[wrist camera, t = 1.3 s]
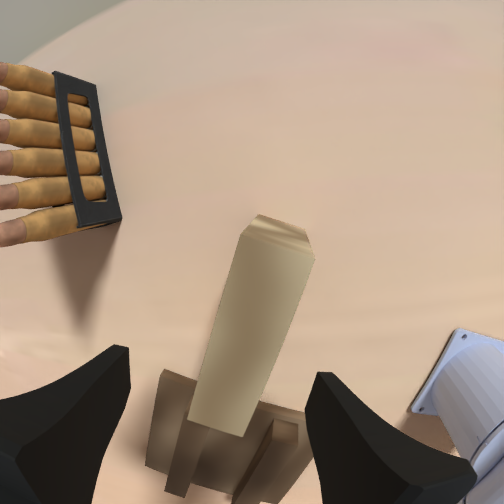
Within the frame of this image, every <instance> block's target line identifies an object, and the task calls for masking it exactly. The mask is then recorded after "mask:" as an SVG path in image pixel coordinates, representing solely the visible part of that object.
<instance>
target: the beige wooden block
mask: <svg viewBox="0 0 504 504" xmlns="http://www.w3.org/2000/svg"><path fill="white" fill-rule="evenodd" d="M314 261H315V256H314V254H313V251H312V248H311V245H310V242H309V240H308V237H307V234H306V231H305V229H303V228H300V227H297V226H294V225H291V224H288V223H284V222H281V221H278V220H275V219H272V218H269V217H266V216H263V215H260V214H259V215H258V216H257V217H256V218H255V219H254V220H253V221H252V222H251V223H250V225H249V226H248V227H247V228H246V229H245V230H244V231H243V232H242V233H241V235H240V238H239V241H238V245H237V248H236V251H235V255H234V258H233V261H232V265H231V268H230V271H229V275H228V278H227V281H226V285H225V288H224V292H223V295H222V298H221V302H220V305H219V309H218V312H217V315H216V319H215V322H214V326H213V329H212V333H211V336H210V340H209V343H208V347H207V350H206V354H205V357H204V361H203V364H202V368H201V371H200V375H199V378H198V382H197V385H196V389H195V392H194V396H193V400H192V403H191V407H190V410H189V414H188V417H187V420H190V421H193V422H196V423H199V424H202V425H205V426H208V427H211V428H214V429H217V430H220V431H223V432H227V433H230V434H233V435H237V436H240V437H243V435H244V433H245V431H246V428H247V426H248V424H249V422H250V420H251V417H252V415H253V413H254V411H255V408H256V406H257V404H258V402H259V399H260V397H261V395H262V392H263V390H264V388H265V385H266V383H267V381H268V378H269V376H270V374H271V371H272V369H273V366H274V364H275V362H276V359H277V357H278V354H279V352H280V349H281V347H282V345H283V342H284V340H285V337H286V335H287V332H288V330H289V327H290V324H291V322H292V319H293V317H294V314H295V312H296V309H297V306H298V304H299V301H300V299H301V296H302V293H303V291H304V288H305V285H306V283H307V280H308V277H309V274H310V272H311V269H312V266H313V263H314Z"/></svg>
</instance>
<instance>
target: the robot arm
mask: <svg viewBox="0 0 504 504" xmlns="http://www.w3.org/2000/svg"><path fill="white" fill-rule="evenodd" d="M464 334H465V335H464ZM463 335H464V337H463V338H462V336H463ZM130 389H131V382H130V365H129V347H124V346H119V345H115V344H114V345H112V346H111V347H109V348H108V349H106V350H105V351H103V352H102V353H100V354H99V355H98V356H96V357H95V358H93V359H92V360H90V361H89V362H87V363H86V364H84V365H83V366H81V367H80V368H78V369H76V370H74V371H73V372H71V373H69V374H68V375H66V376H64V377H62V378H61V379H59V380H57V381H55V382H53V383H50V384H48V385H46V386H44V387H41V388H39V389H36V390H33V391H30V392H27V393H24V394H21V395H18V396H14V397H10V398H6V399H1V400H0V504H91V503H92V498H93V494H94V490H95V485H96V481H97V477H98V474H99V470H100V467H101V463H102V460H103V457H104V454H105V452H106V449H107V447H108V445H109V442H110V440H111V438H112V436H113V433H114V431H115V429H116V427H117V425H118V422H119V420H120V418H121V416H122V414H123V411H124V409H125V406H126V403H127V400H128V396H129V393H130ZM421 407H422V408H421ZM420 408H421V409H420ZM411 410H412V412H413V413H419V414H426V415H434V416H439V417H440V419H441V420H442V422H443V424H444V426H445V428H446V430H447V432H448V434H449V436H450V437H451V439H452V441H453V443H454V445H455V447H456V449H457V451H458V453H459V455H460V457H461V458H460V457H457V456H453V455H450V454H446V453H444V452H441V451H438V450H436V449H433V448H431V447H429V446H426V445H424V444H422V443H420V442H418V441H416V440H414V439H413V438H411V437H409V436H407V435H405V434H404V433H402V432H400V431H399V430H397V429H396V428H394V427H393V426H392V425H390V424H389V423H387V422H386V421H385V420H383V419H382V418H381V417H379V416H378V415H377V414H376V413H375V412H373V411H372V410H371V409H370V408H369V407H368V406H367V405H365V404H364V403H363V402H362V401H361V400H360V399H359V398H358V397H357V396H356V395H355V394H354V393H353V392H352V391H351V390H350V389H349V388H348V387H347V386H346V385H345V384H344V383H343V382H342V381H341V380H340V379H339V378H338V377H337V376H336V375H335V374H333V373H332V372H317V375H316V378H315V381H314V384H313V387H312V390H311V392H310V395H309V398H308V401H307V404H306V407H305V419H306V427H307V433H308V437H309V441H310V445H311V449H312V452H313V456H314V460H315V464H316V467H317V471H318V475H319V480H320V485H321V493H322V501H323V504H504V341H501V340H498V339H494V338H491V337H488V336H484V335H481V334H478V333H475V332H471V331H468V330H465V329H461V328H458V329H456V330H455V331H454V333H453V335H452V337H451V339H450V341H449V343H448V344H447V346H446V348H445V350H444V352H443V354H442V356H441V358H440V359H439V361H438V363H437V365H436V366H435V368H434V370H433V372H432V373H431V375H430V377H429V378H428V380H427V382H426V383H425V385H424V387H423V388H422V390H421V392H420V393H419V395H418V396H417V398H416V399H415V401H414V402H413V404H412V406H411Z"/></svg>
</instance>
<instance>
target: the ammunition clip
mask: <svg viewBox="0 0 504 504" xmlns="http://www.w3.org/2000/svg"><path fill="white" fill-rule="evenodd" d="M52 74H53V75H52ZM52 74H49V73H46V72H43V71H40V70H38V69H35V68H32V67H28V66H25V65H13V64H9V63H3V62H0V85H1V86H4V87H7V88H8V89H10V90H2V89H0V113H2V114H7V115H9V116H11V117H13V118H16V120H11V119H4V120H3V119H0V143H3V144H10V145H13V146H16V147H20V148H23V149H19V150H7V151H0V175H6V176H19V177H23V178H32V179H28V180H25V181H23V182H18V183H12V184H7V185H0V210H6V209H18V208H24V209H37V208H43V207H50V206H52V207H53V208H49V209H43V210H38V211H34V212H32V213H30V214H28V215H26V216H23V217H19V218H16V219H14V220H10V221H6V222H3V223H0V247H6V246H12V245H16V244H21V243H26V242H31V241H45V240H48V239H52V238H55V237H59V236H62V235H66V234H70V233H73V232H77V231H82V230H87V229H93V228H98V227H103V226H106V225H109V224H112V223H116V222H119V221H121V220H122V214H121V210H120V207H119V203H118V198H117V194H116V190H115V186H114V181H113V177H112V173H111V168H110V163H109V158H108V154H107V149H106V143H105V138H104V133H103V127H102V121H101V115H100V109H99V103H98V96H97V89H96V85H95V84H92V83H89V82H86V81H84V80H81V79H78V78H75V77H72V76H69V75H66V74H63V73H60V72H57V71H54V72H52ZM11 90H12V91H11ZM37 177H45V178H37ZM70 203H73V204H72V205H66V206H65V205H64V204H70Z"/></svg>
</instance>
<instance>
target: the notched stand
mask: <svg viewBox="0 0 504 504" xmlns="http://www.w3.org/2000/svg"><path fill="white" fill-rule="evenodd" d="M197 382H198V381H196V380H193V379H190V378H187V377H184V376H182V375H179V374H176V373H174V372H171V371H169V370H166V369H164V370H163V372H162V373H161V375H160V378H159V384H158V389H157V394H156V400H155V406H154V411H153V417H152V423H151V429H150V435H149V441H148V448H147V455H146V461H145V466H147V467H149V468H152V469H154V470H157V471H159V472H162V473H165V474H167V475H168V478H167V482H166V486H165V490H164V491H166V492H168V493H171V494H174V495H177V496H180V497H183V498H185V496H186V493H187V490H188V487H189V485H190V483H193V484H196V485H200V486H203V487H206V488H210V489H213V490H216V491H220V492H224V493H228V494H231V495H233V497H232V502H231V504H259V503H260V502H261V501H262V502H267V503H272V504H278V503H279V502H280V501H281V500H282V498H283V497H284V496H285V494H286V493H287V492H288V491H289V489H290V488H291V487H292V486H293V484H294V483H295V482H296V480H297V479H298V478H299V476H300V475H301V474H302V472H303V471H304V469H305V468H306V467H307V465H308V464H309V463H310V461H311V460H312V458H313V457H314V456H313V452H312V449H311V445H310V441H309V437H308V433H307V427H306V419H305V413H304V412H300V411H295V410H291V409H287V408H284V407H280V406H276V405H272V404H269V403H265V402H261V401H259V402H258V404H257V406H256V408H255V411H254V413H253V415H252V417H251V420H250V422H249V424H248V426H247V428H246V431H245V433H244V435H243V437H240V436H237V435H233V434H230V433H227V432H223V431H220V430H217V429H214V428H211V427H208V426H205V425H202V424H199V423H196V422H193V421H190V420H187V417H188V414H189V410H190V407H191V403H192V400H193V396H194V392H195V389H196V385H197Z"/></svg>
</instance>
